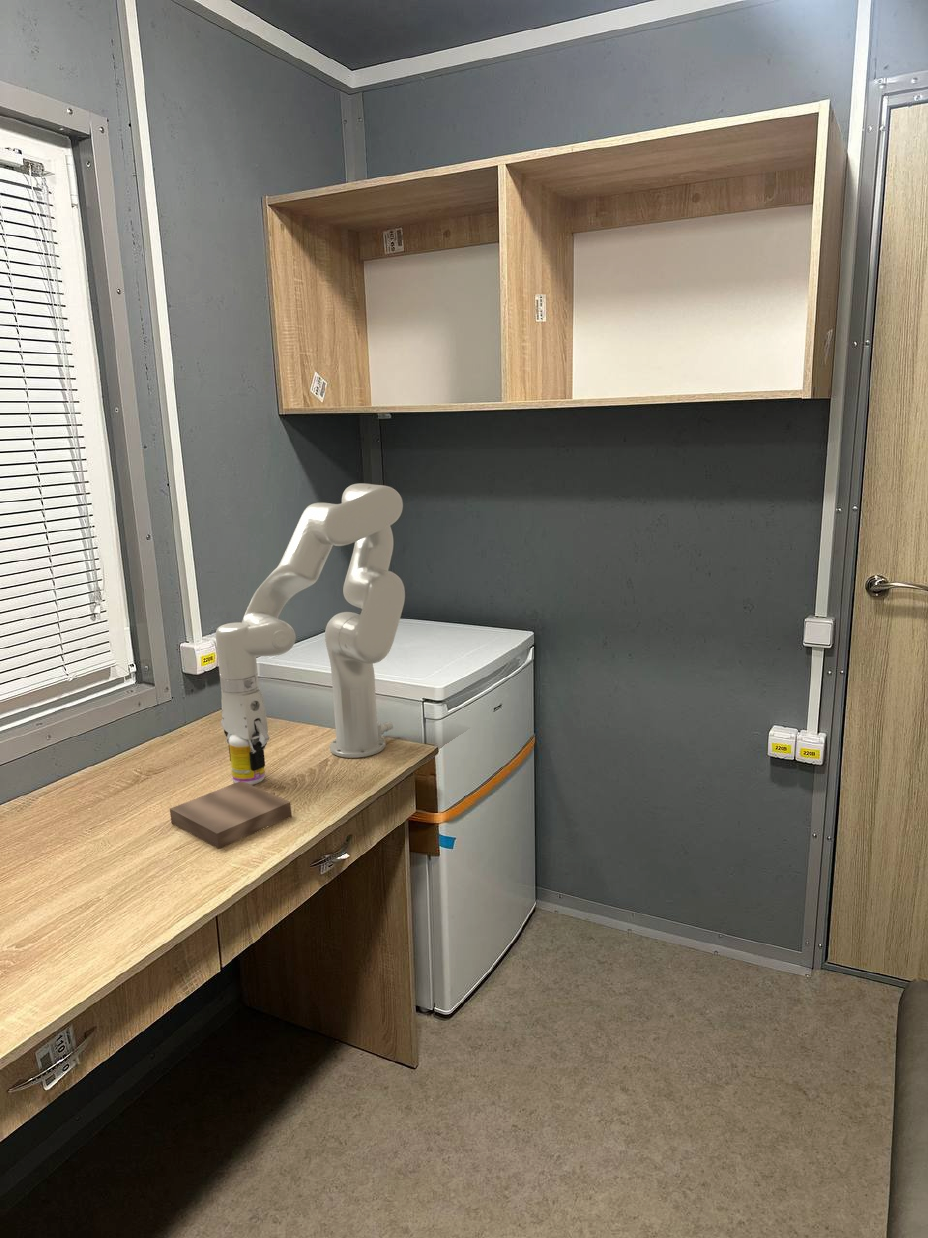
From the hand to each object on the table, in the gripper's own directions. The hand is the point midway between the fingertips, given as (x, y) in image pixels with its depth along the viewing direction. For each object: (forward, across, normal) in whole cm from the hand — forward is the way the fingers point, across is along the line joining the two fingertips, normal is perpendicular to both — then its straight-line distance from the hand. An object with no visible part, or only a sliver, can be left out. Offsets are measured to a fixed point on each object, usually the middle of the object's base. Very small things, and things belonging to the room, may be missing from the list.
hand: (247, 763), depth 183 cm
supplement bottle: (+4, 0, 0) cm, 4 cm away
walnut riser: (+4, -13, +13) cm, 19 cm away
